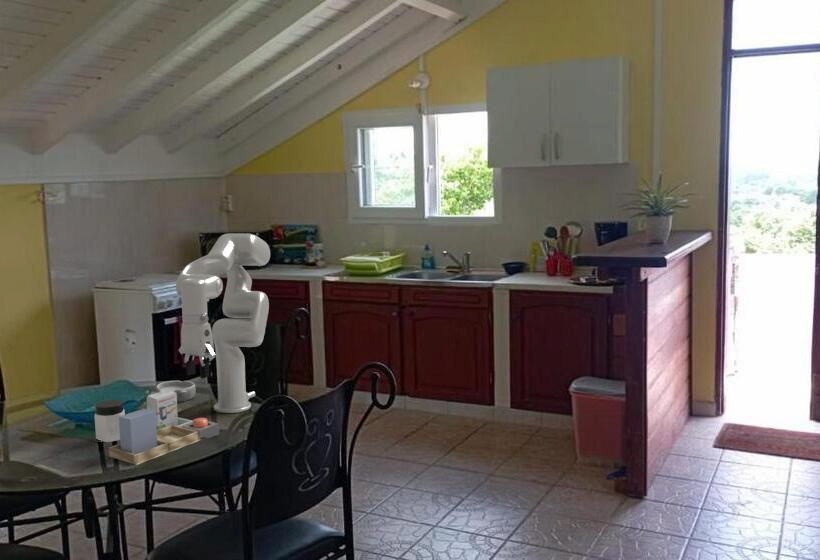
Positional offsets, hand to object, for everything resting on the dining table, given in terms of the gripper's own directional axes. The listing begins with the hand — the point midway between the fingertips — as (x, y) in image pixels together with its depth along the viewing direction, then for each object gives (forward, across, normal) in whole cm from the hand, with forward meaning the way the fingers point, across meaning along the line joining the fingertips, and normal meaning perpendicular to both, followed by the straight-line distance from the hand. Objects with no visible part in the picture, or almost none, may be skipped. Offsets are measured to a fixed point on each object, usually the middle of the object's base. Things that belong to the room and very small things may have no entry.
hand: (197, 375), depth 259 cm
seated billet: (+18, +1, +23) cm, 29 cm away
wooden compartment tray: (+19, +1, +17) cm, 26 cm away
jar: (+20, +20, +18) cm, 33 cm away
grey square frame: (+19, 0, 0) cm, 19 cm away
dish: (+20, +39, -25) cm, 50 cm away
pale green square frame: (+19, +15, +2) cm, 25 cm away
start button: (+18, 0, 0) cm, 18 cm away
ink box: (+20, +15, +2) cm, 25 cm away
